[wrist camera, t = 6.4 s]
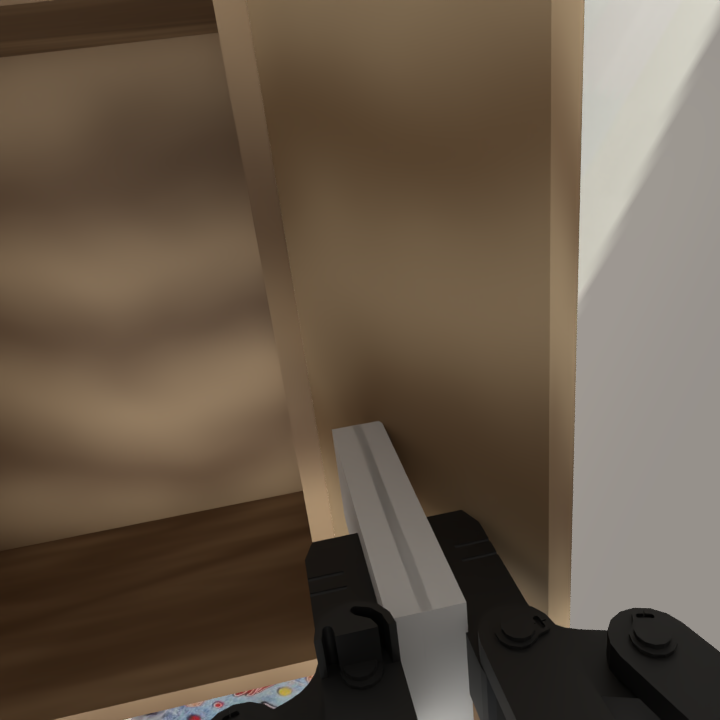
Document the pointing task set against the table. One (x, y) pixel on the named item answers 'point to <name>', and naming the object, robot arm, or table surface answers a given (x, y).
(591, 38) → the table surface
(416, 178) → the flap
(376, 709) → the robot arm
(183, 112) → the carton
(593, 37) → the table surface
